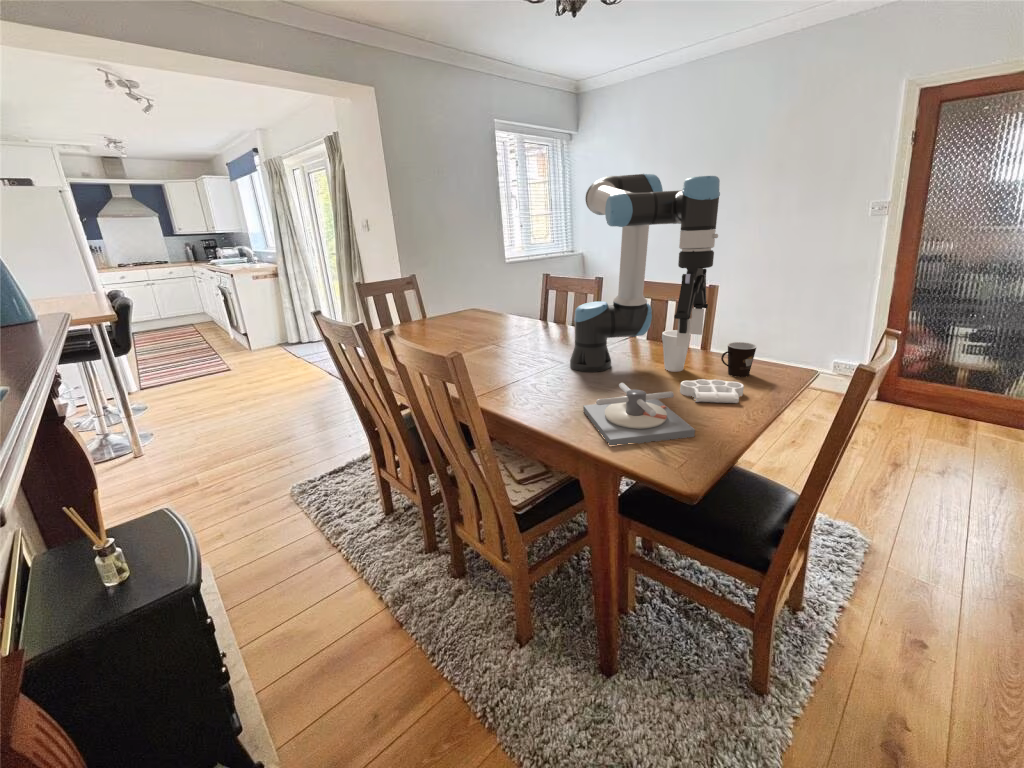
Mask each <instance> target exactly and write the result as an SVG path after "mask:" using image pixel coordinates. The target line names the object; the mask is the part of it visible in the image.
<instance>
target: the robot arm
mask: <svg viewBox="0 0 1024 768" xmlns="http://www.w3.org/2000/svg"><path fill="white" fill-rule="evenodd" d="M720 184H721V183H720V177H718V176H716V175H699V176H693V177H691V176H690V177H689V178H686V179H685V180H684V182H683V185H682V187H683V188H682V190H664V191H663V186H662V182H661V180H660V178H659V176H658V175H656V174H654V173H649V174H648V173H640V174H626V175H625V174H624V175H621V174H620V175H610V176H608V175H607V176H604V177H601V178H599V179H596V180H595V181H594V182H593V183H591V185H590V186H589V187H588V189H587V190H586V193H585V199H584V200H585V204H586V207H587V208H588V210H589V211H590V212H591V213H593V214H596V215H597V216H605V220H606V224H607V225H608V226H609V227H618V228H621V229H622V230H621V241H620V242H621V243H620V244H621V247H620V260H619V261H620V262H619V276H618V293H617V296H615V297H614V298H613V302H612V305H609V304H608V302H607V301H597V300H596V301H591V302H586V303H583V304H580V305H578V306H577V307H576V308H575V311H574V320H573V321H574V347H573V350H572V353H571V356H570V360H569V364H570V365H569V366H570V368H571V369H572V370H575V371H578V372H584V373H585V372H586V373H587V372H588V373H593V372H595V373H596V372H603V371H607V370H609V369H611V367H612V358H611V355H610V352H609V347H608V343H607V342H608V341H607V340H608V339H613V338H614V339H615V338H635V337H641V336H644V335H645V334H647V333H648V331H649V329H650V327H651V323H652V318H653V317H652V315H653V314H652V312H653V311H652V306H651V305H650V303H648V300H647V298H646V297H645V296H644V288H645V278H646V269H647V268H646V266H647V264H646V263H647V255H648V254H647V253H648V244H649V243H648V242H649V232H650V231H649V230H650V226H651V225H676V224H679V225H680V231H679V233H680V234H679V245H678V246H679V247H678V248H679V249H680V251H679V253H678V263H677V265H678V267H679V268H680V269H686V273H683V274H682V275H681V283H680V291H679V295H678V302H677V307H676V313H675V314H674V317H673V318H674V319H675V320H676V319H677V329H676V330H677V344H676V346H681V347H688V348H689V347H690V342H691V339H690V334H691V335H699V336H700V335H701V336H702V335H703V330H704V329H703V327H704V317H705V315H704V314H705V309H708V307H709V304H708V303H707V301H708V300H707V269H708V268H712V267H713V266H714V257H715V256H714V255H715V251H714V250H712V249H713V248H714V247H715V245H716V244H715V243H716V239H717V238H719V234H718V233H716V232H717V231H716V229H717V223H718V221H717V220H718V211H719V203H720V195H721V192H720Z"/></svg>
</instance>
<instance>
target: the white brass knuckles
mask: <svg viewBox="0 0 1024 768" xmlns="http://www.w3.org/2000/svg"><path fill="white" fill-rule="evenodd" d="M679 387H680V389H679V393H680V394H681V395H683V396H686V397H691V396H692V397H691V398H693V397H694V398H693V401H694V400H695V399H696V401H694V402H695V403H713V404H714V403H715V404H717V403H719V404H723V403H724V404H738V403H739V401H740V398H741V397H743V396H744V387H745V385H744V384H743V383H741V382H738V381H726V380H722V379H704V378H701V379H700V378H699V379H694V380H683V381H681V382H680V386H679ZM740 396H741V397H740Z"/></svg>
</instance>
